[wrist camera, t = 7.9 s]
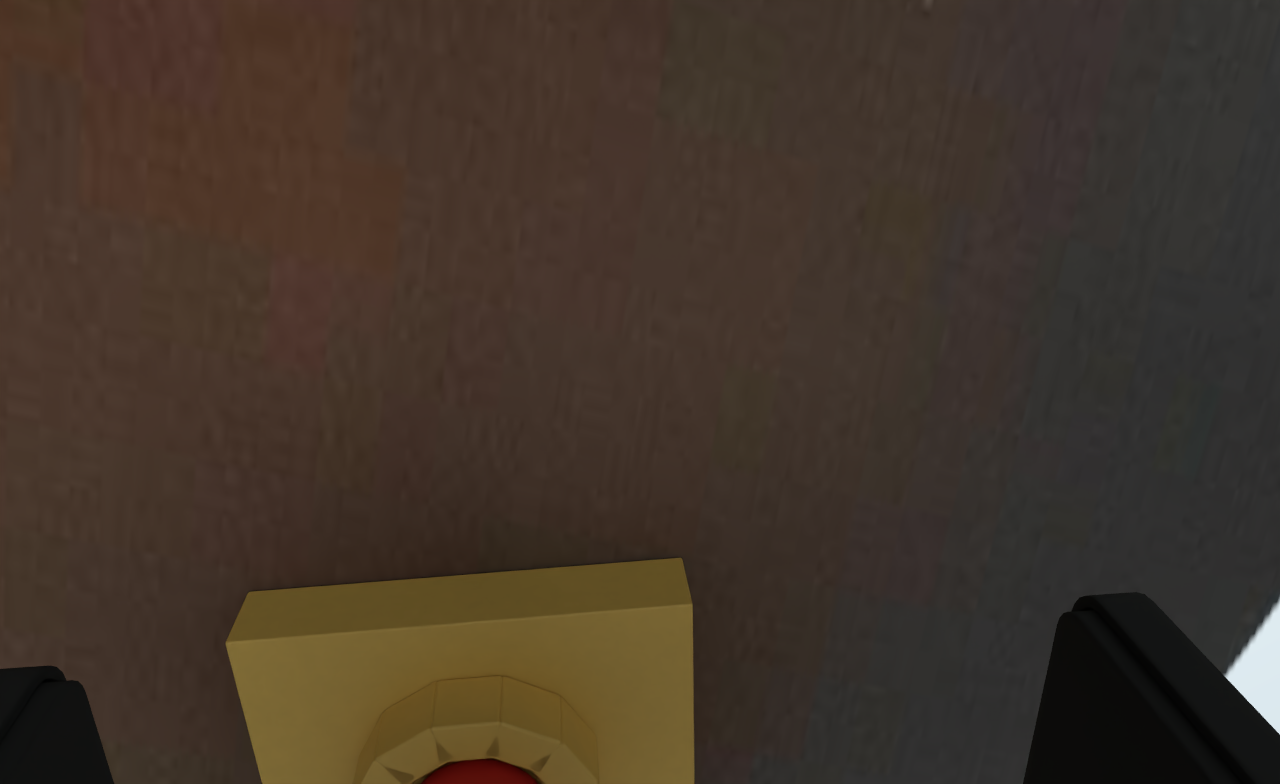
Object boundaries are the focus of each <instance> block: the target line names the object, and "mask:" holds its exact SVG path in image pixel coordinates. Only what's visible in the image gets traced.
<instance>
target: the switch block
mask: <svg viewBox="0 0 1280 784" xmlns="http://www.w3.org/2000/svg"><path fill="white" fill-rule="evenodd" d="M225 644H226V648H227V652H228V655H229V659H230V663H231V667H232V671H233V674H234V678H235V682H236V686H237V690H238V693H239V697H240V701H241V705H242V709H243V712H244V716H245V720H246V724H247V728H248V731H249V735H250V739H251V743H252V747H253V750H254V754H255V758H256V762H257V766H258V769H259V773H260V777H261V781H262V784H421V783H422V782H423V781H424V780H425V779H426V778H427V777H428V776H429V775H430V774H432V773H433V772H435V771H437V770H438V769H440V768H442V767H444V766H446V765H449V764H452V763H455V762H459V761H466V760H477V759H491V760H497V761H502V762H505V763H509V764H511V765H514V766H516V767H518V768H520V769H522V770H523V771H525V772H526V773H528V774H529V775H530V776H531V777H532V778H534V779H535V781H536V782H537V783H538V784H694V680H693V604H692V599H691V595H690V591H689V586H688V582H687V577H686V573H685V569H684V564H683V560H682V558H670V559H657V560H644V561H632V562H619V563H607V564H594V565H581V566H569V567H556V568H543V569H531V570H518V571H505V572H493V573H480V574H467V575H455V576H442V577H430V578H417V579H404V580H392V581H379V582H366V583H354V584H341V585H328V586H316V587H303V588H290V589H278V590H265V591H253V592H248V594H247V596H246V598H245V601H244V603H243V605H242V607H241V609H240V612H239V614H238V616H237V618H236V620H235V623H234V625H233V627H232V629H231V632H230V634H229V636H228V638H227V640H226V643H225Z"/></svg>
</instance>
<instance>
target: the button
mask: <svg viewBox="0 0 1280 784" xmlns="http://www.w3.org/2000/svg"><path fill="white" fill-rule="evenodd" d="M421 784H538V783H537V782H536V781H535V779H534V778H532V777H531V776H530V775H529V774H528V773H526V772H525V771H523V770H522V769H520V768H518V767H516V766H514V765H511V764H509V763H505V762H502V761H497V760H491V759H477V760H466V761H459V762H455V763H452V764H449V765H446V766H444V767H442V768H440V769H438V770H437V771H435V772H433V773H432V774H430V775H429V776H428V777H427V778H426V779H425V780H424V781H423V782H422V783H421Z"/></svg>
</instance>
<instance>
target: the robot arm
mask: <svg viewBox="0 0 1280 784" xmlns="http://www.w3.org/2000/svg"><path fill="white" fill-rule="evenodd" d="M0 784H114V782H113V779H112V776H111V772H110V769H109V766H108V763H107V760H106V756H105V753H104V750H103V747H102V743H101V740H100V737H99V734H98V731H97V727H96V724H95V721H94V718H93V714H92V711H91V708H90V705H89V701H88V698H87V695H86V692H85V690H84V688H83V686H82V685H81V684H80V683H79V682H78V681H73V680H71V681H66V678H65V676H64V674H63V672H62V671H60V670H59V669H58V668H57V667H54V666H37V667H23V668H8V669H0ZM1023 784H1280V735H1279V733H1278V732H1277V731H1276V730H1275V729H1274V728H1273V727H1272V726H1271V725H1270V724H1269V723H1268V722H1267V721H1266V720H1265V719H1264V718H1263V717H1262V716H1261V714H1260V713H1258V711H1257V710H1256V709H1255V708H1254V707H1253V706H1252V705H1251V704H1250V703H1249V702H1248V701H1247V700H1246V699H1245V698H1244V696H1243V695H1242V694H1241V693H1240V692H1239V691H1238V690H1237V689H1236V688H1235V687H1234V686H1233V685H1232V684H1231V683H1230V682H1229V681H1228V680H1227V679H1226V678H1225V676H1224V675H1223V674H1222V673H1221V672H1220V671H1219V670H1218V669H1217V668H1216V667H1215V666H1214V665H1213V664H1212V663H1211V662H1210V661H1209V660H1208V659H1207V657H1206V656H1205V655H1204V654H1203V653H1202V652H1201V651H1200V650H1199V649H1198V648H1197V647H1196V646H1195V645H1194V644H1193V643H1192V642H1191V641H1190V640H1189V639H1188V637H1187V636H1186V635H1185V634H1184V633H1183V632H1182V631H1181V630H1180V629H1179V628H1178V627H1177V626H1176V625H1175V624H1174V623H1173V622H1172V621H1171V620H1170V618H1169V617H1168V616H1167V615H1166V614H1165V613H1164V612H1163V611H1162V610H1161V609H1160V608H1159V607H1158V606H1157V605H1156V604H1155V603H1154V602H1153V601H1152V600H1151V599H1150V598H1148V597H1147V596H1146V595H1145V594H1141V593H1137V592H1134V593H1119V594H1104V595H1090V596H1084V597H1080V598H1079V599H1078V600H1077V601H1076V603H1075V604H1074V606H1073V609H1072V612H1066V613H1063V614H1062V616H1061V617H1060V618H1059V621H1058V624H1057V628H1056V633H1055V637H1054V642H1053V647H1052V651H1051V656H1050V661H1049V665H1048V670H1047V675H1046V679H1045V684H1044V689H1043V693H1042V698H1041V703H1040V707H1039V712H1038V717H1037V721H1036V726H1035V730H1034V735H1033V740H1032V744H1031V749H1030V754H1029V758H1028V763H1027V768H1026V772H1025V777H1024V782H1023Z"/></svg>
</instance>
